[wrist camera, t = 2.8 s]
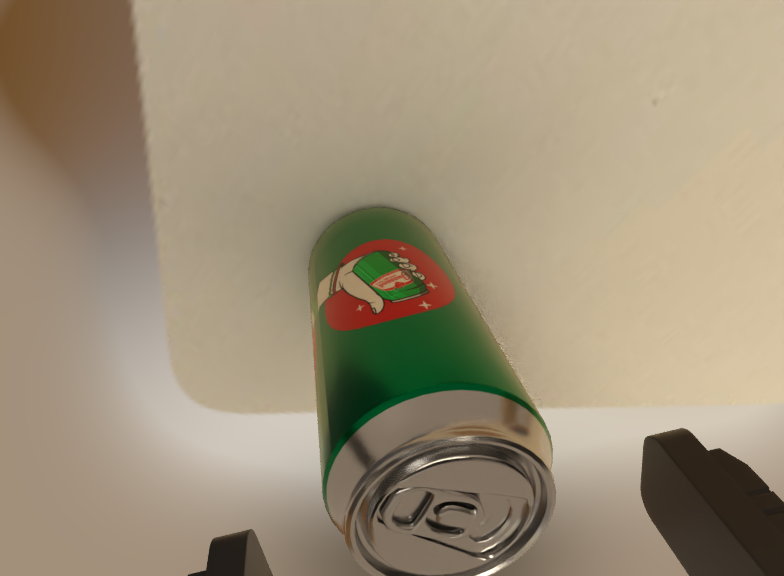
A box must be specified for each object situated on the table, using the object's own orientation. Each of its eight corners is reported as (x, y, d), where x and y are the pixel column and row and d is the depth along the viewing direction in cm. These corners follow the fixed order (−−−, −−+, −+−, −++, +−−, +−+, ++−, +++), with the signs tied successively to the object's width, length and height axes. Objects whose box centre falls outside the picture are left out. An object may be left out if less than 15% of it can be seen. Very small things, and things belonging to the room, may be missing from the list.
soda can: (405, 336, 23) (498, 616, 13) (288, 299, 22) (286, 585, 11) (461, 230, 22) (623, 454, 11) (338, 181, 20) (392, 390, 10)
